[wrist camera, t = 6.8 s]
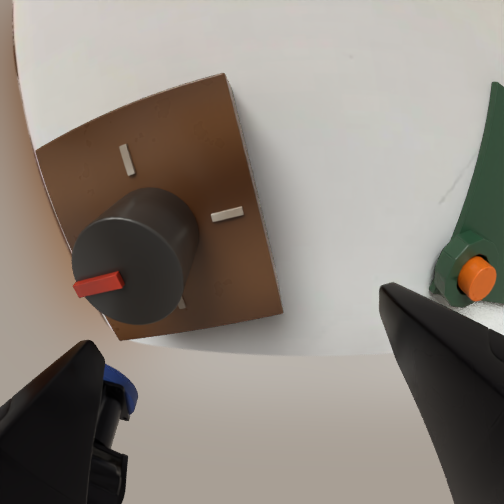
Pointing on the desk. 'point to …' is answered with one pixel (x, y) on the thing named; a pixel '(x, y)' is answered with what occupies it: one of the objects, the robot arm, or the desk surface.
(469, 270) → the button
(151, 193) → the knob
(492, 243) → the green flat plate
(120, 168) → the panel
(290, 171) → the desk surface
